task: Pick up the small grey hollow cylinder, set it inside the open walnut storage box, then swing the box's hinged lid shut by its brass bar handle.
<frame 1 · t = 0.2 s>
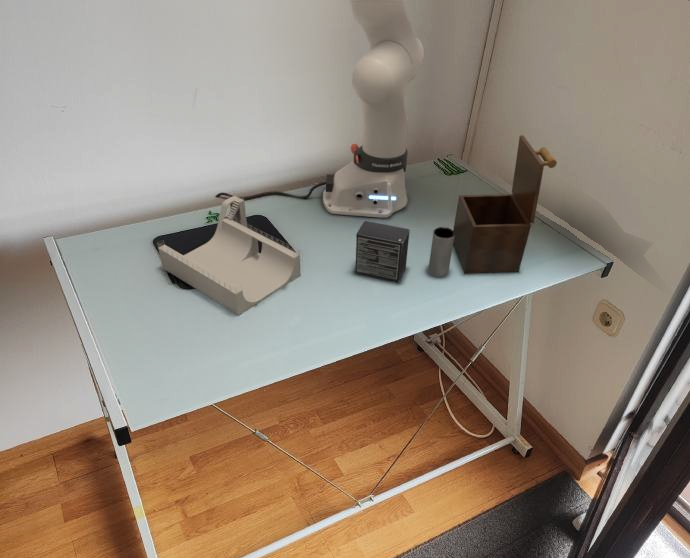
storage box: (483, 256, 136), on the table
skate ramp: (238, 268, 131), on the table
box lid: (536, 178, 124), point 20 cm above the table, hinge at 85.0°
grey hollow cylinder: (438, 272, 132), on the table
small box: (380, 271, 132), on the table
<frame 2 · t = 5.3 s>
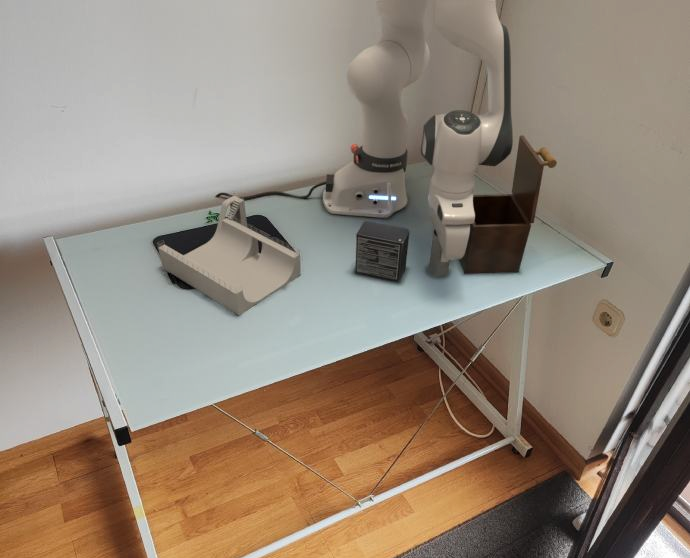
hand: (441, 252, 128), 5 cm above the table, tool pointing down, fingers closed on grey hollow cylinder, 4 cm apart
grey hollow cylinder: (437, 272, 132), on the table, touching gripper
everything else where it was.
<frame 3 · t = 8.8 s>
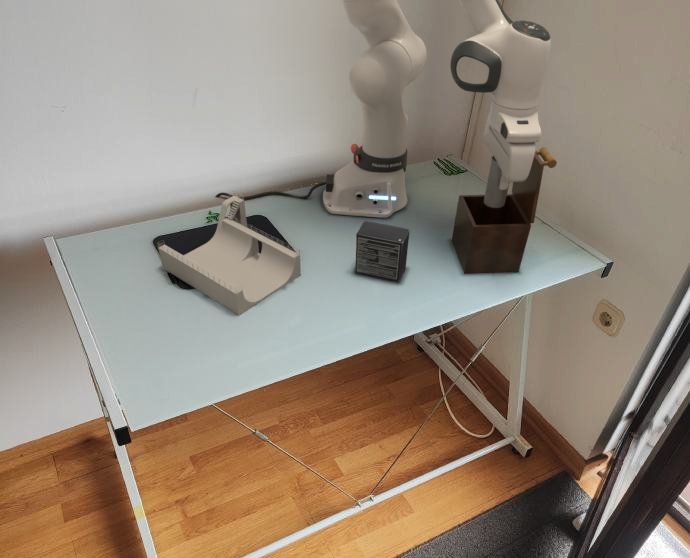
hand: (498, 181, 123), 19 cm above the table, tool pointing down, fingers closed on grey hollow cylinder, 4 cm apart
grey hollow cylinder: (493, 203, 127), point 14 cm above the table, touching gripper
everything else where it was.
when the fingers open (8 cm above the table, at t = 13.2 s): grey hollow cylinder stays where it is, resting on storage box.
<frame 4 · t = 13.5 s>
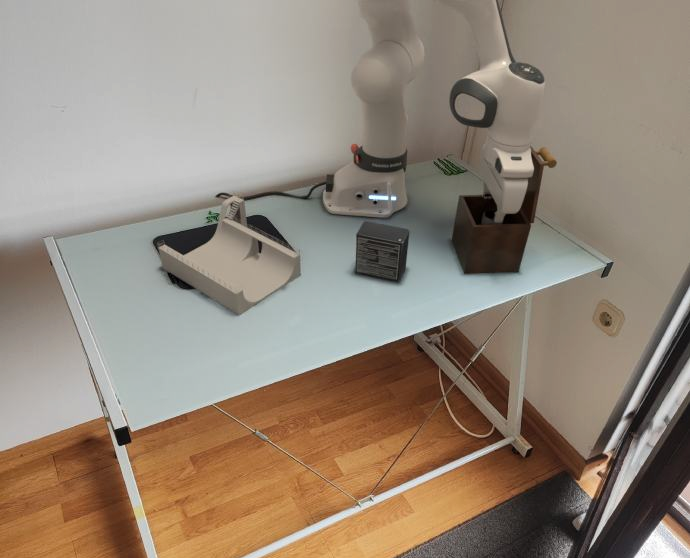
hand: (491, 209, 129), 12 cm above the table, tool pointing down, fingers open, 8 cm apart
grey hollow cylinder: (485, 253, 136), point 1 cm above the table, touching storage box
everything else where it was.
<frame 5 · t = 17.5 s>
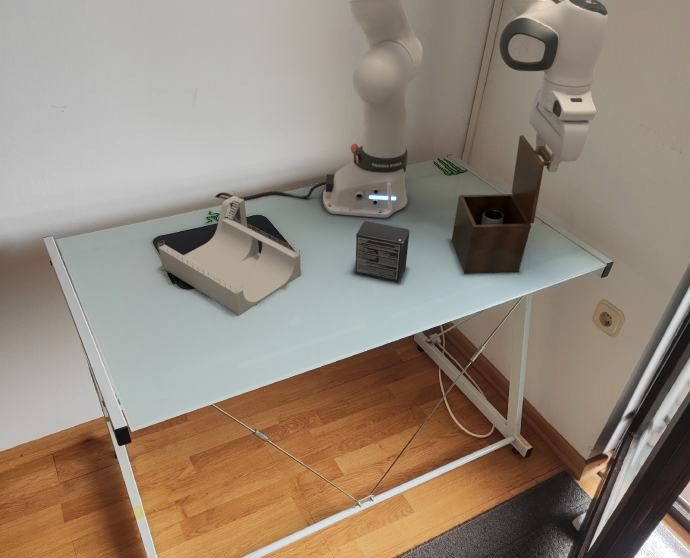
hand: (545, 162, 121), 23 cm above the table, tool pointing down, fingers closed on box lid, 6 cm apart
box lid: (536, 178, 124), point 20 cm above the table, hinge at 85.0°, touching gripper
everything else where it was.
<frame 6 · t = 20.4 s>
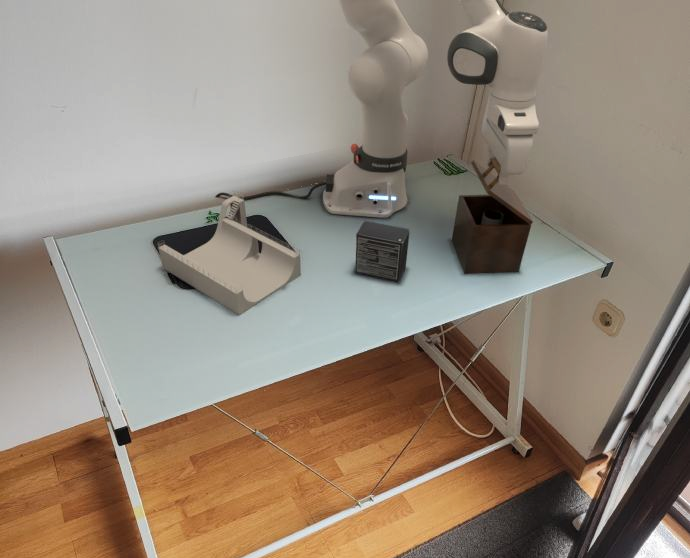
hand: (496, 175, 122), 21 cm above the table, tool pointing down, fingers closed on box lid, 6 cm apart
box lid: (508, 184, 124), point 18 cm above the table, hinge at 35.0°, touching gripper
everything else where it was.
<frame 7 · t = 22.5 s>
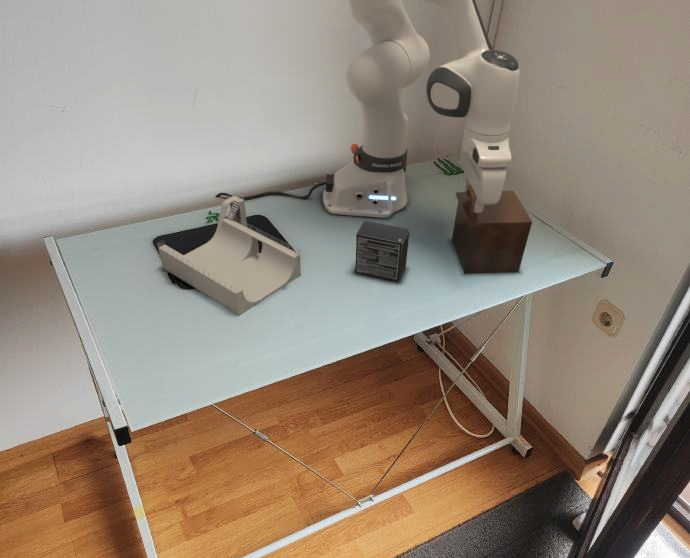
hand: (473, 202, 126), 14 cm above the table, tool pointing down, fingers closed on box lid, 6 cm apart
box lid: (494, 199, 126), point 15 cm above the table, hinge at -0.2°, touching gripper, storage box
everything else where it was.
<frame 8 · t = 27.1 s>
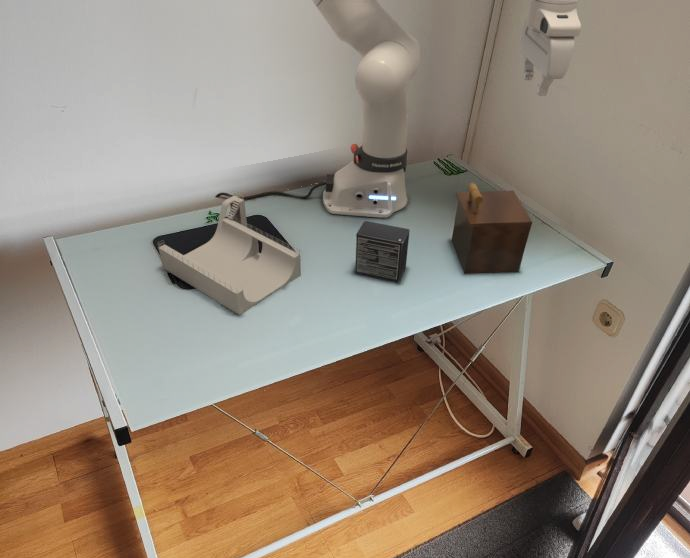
hand: (534, 86, 126), 33 cm above the table, tool pointing down, fingers open, 8 cm apart
box lid: (494, 199, 126), point 15 cm above the table, hinge at -0.2°, touching storage box
everything else where it was.
at the end: grey hollow cylinder inside the target area in the storage box (0.2 cm from its centre), point 0.6 cm above the storage box's base; grey hollow cylinder tilted 0°; box lid at +0° (first picture: +85°) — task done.
